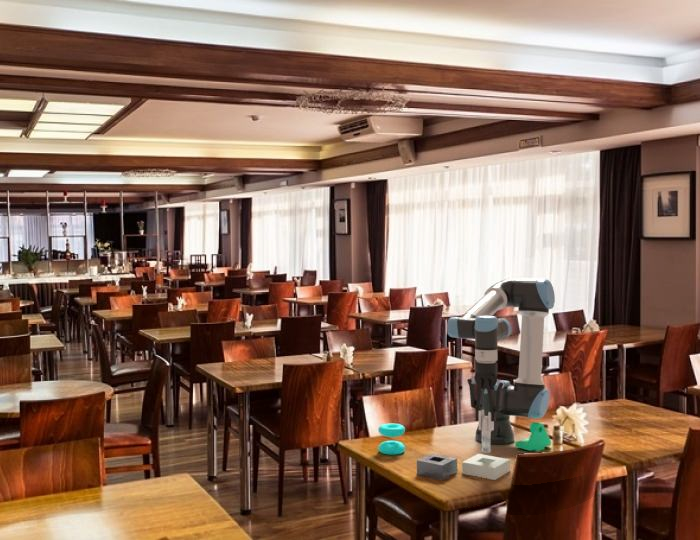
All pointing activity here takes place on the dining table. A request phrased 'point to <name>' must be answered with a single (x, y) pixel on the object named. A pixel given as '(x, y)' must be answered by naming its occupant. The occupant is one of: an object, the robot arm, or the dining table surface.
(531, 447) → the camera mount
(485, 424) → the steel pin
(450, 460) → the mount block
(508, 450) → the dining table surface
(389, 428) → the donuts
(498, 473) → the socket plate
